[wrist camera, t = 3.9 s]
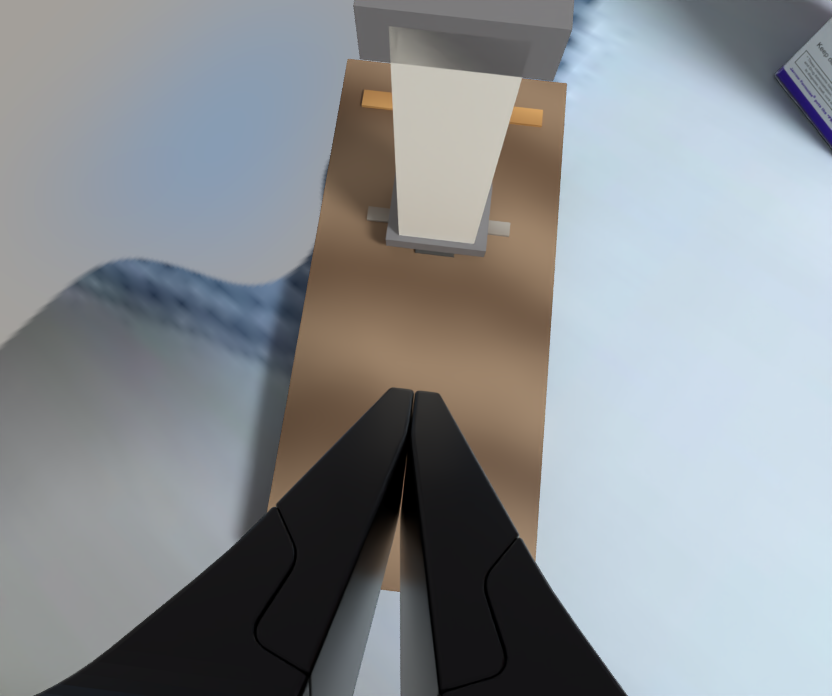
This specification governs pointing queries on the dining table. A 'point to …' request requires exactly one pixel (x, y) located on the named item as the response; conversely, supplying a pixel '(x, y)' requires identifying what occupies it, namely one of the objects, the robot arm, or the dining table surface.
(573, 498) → the dining table surface
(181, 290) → the dining table surface
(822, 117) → the supplement box
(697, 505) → the dining table surface
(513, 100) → the lever
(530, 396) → the wooden board
